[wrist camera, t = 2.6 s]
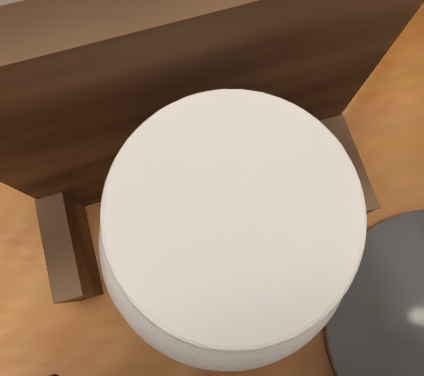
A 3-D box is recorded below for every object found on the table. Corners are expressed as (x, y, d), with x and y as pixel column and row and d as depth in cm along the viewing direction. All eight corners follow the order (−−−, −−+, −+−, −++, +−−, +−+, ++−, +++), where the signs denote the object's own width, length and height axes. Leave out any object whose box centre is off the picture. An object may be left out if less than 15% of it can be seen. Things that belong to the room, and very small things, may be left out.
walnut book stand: (355, 219, 20) (563, 121, 8) (78, 300, 19) (-148, 327, 7) (314, 113, 21) (440, -102, 9) (55, 185, 20) (-165, 46, 8)
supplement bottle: (200, 360, 18) (167, 529, 6) (127, 240, 19) (-31, 160, 7) (315, 277, 19) (510, 263, 6) (238, 169, 20) (274, -17, 8)
